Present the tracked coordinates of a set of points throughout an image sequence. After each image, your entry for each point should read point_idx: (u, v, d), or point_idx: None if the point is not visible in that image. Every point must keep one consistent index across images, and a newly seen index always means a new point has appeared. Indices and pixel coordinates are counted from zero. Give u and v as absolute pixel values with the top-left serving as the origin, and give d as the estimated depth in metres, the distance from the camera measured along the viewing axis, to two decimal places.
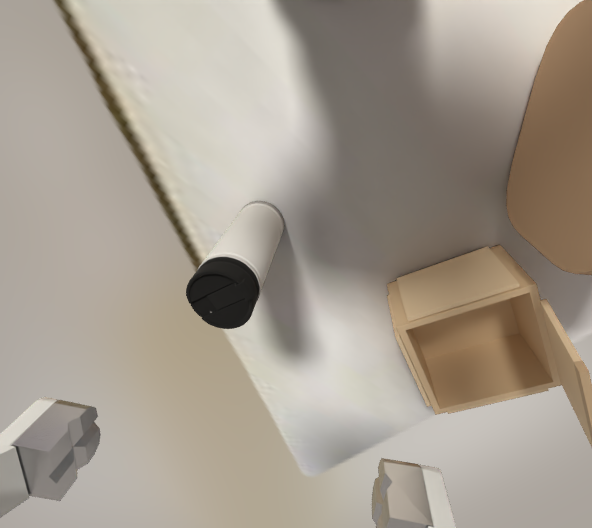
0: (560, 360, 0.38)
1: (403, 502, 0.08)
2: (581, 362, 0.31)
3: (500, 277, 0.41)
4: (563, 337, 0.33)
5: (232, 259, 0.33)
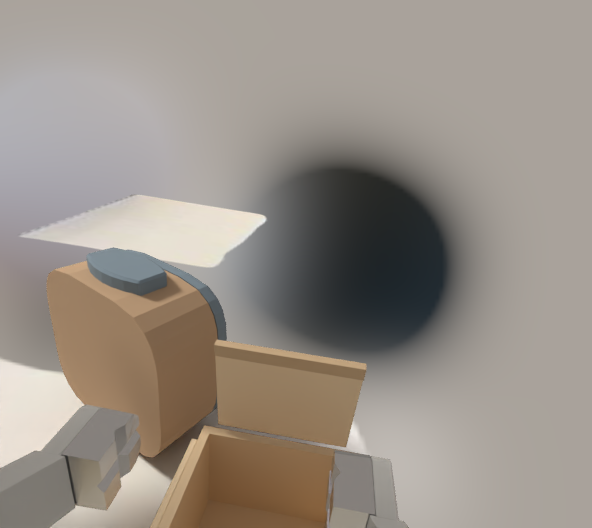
0: (276, 412, 0.33)
1: (348, 492, 0.09)
2: None
3: None
4: None
5: None
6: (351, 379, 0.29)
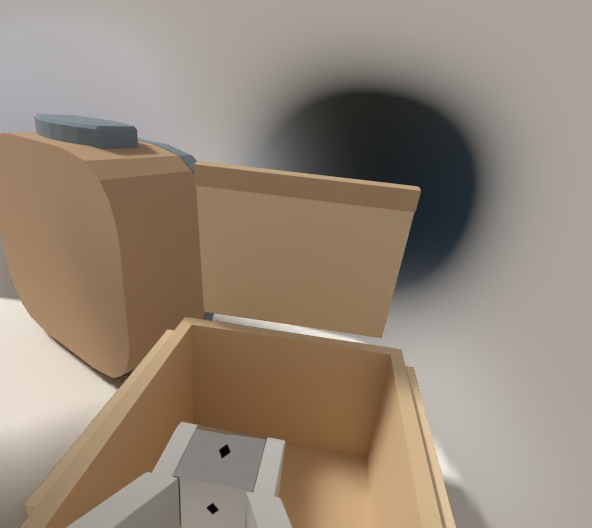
0: (284, 283, 0.23)
1: (233, 470, 0.09)
2: None
3: None
4: None
5: None
6: (396, 211, 0.20)
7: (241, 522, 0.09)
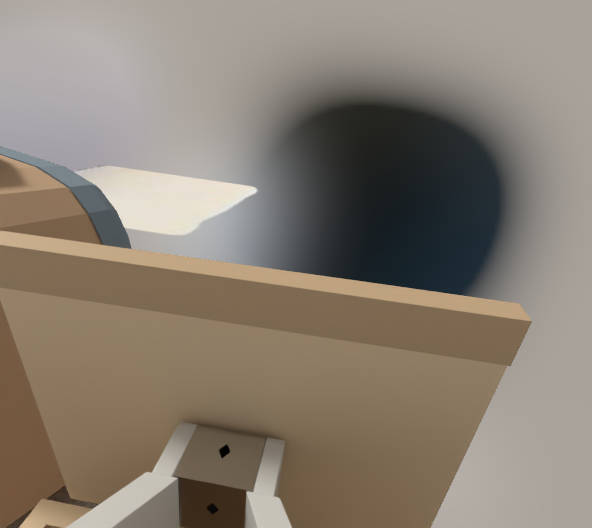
0: None
1: (232, 470, 0.09)
2: None
3: None
4: None
5: None
6: (464, 361, 0.08)
7: (241, 522, 0.09)
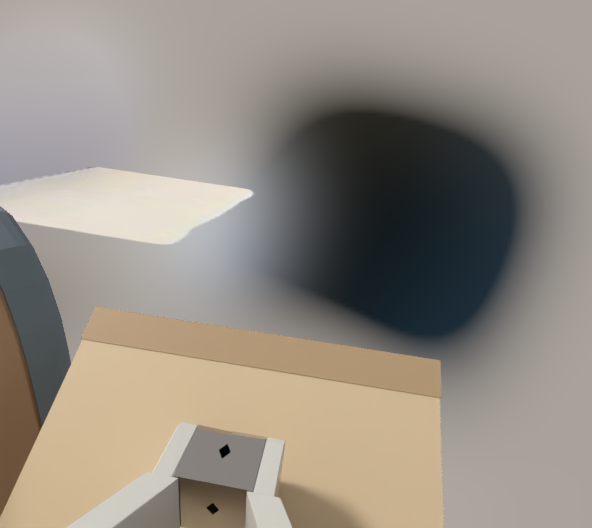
0: None
1: (233, 470, 0.09)
2: None
3: None
4: None
5: None
6: (411, 396, 0.12)
7: (241, 522, 0.09)
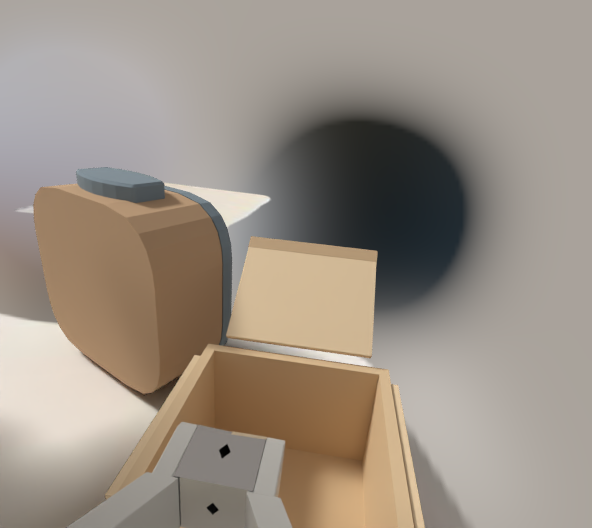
0: (295, 308, 0.32)
1: (232, 470, 0.09)
2: None
3: None
4: (242, 275, 0.34)
5: None
6: (366, 261, 0.34)
7: (241, 522, 0.09)
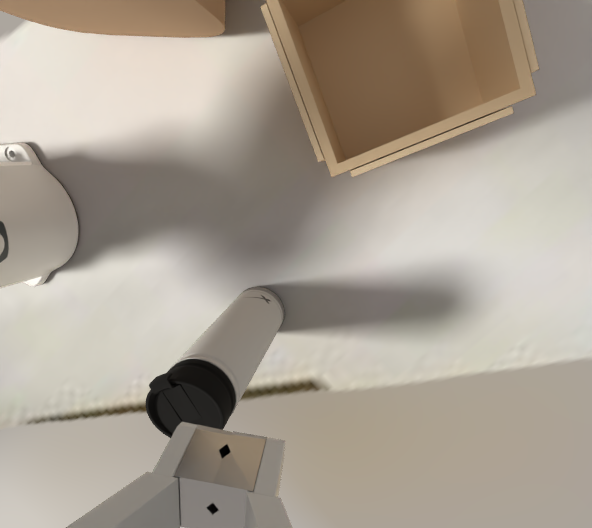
0: None
1: (233, 470, 0.09)
2: None
3: None
4: None
5: None
6: None
7: (241, 522, 0.09)
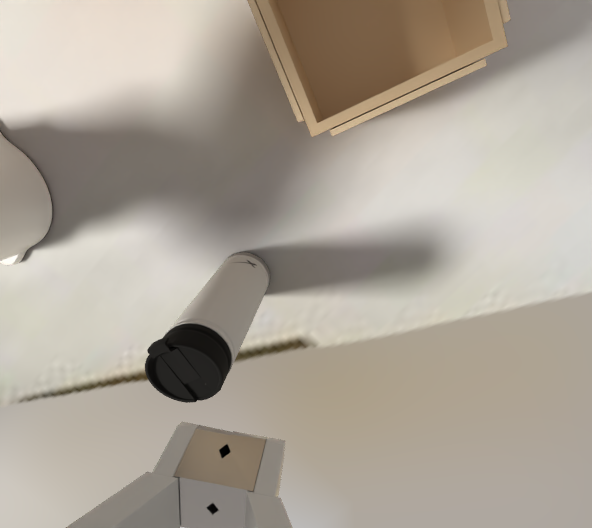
0: None
1: (233, 470, 0.09)
2: None
3: None
4: None
5: None
6: None
7: (241, 522, 0.09)
